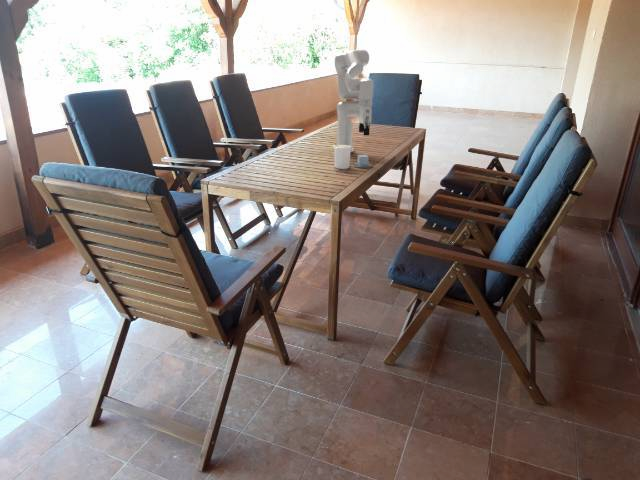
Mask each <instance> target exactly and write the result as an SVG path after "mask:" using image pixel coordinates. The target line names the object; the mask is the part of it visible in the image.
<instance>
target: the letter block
mask: <svg viewBox="0 0 640 480" xmlns="http://www.w3.org/2000/svg"><path fill="white" fill-rule="evenodd" d="M356 163H357V164H358V165H360V166H363V165H368V163H369V156H368V155H367V154H357V161H356Z"/></svg>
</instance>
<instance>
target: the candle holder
mask: <svg viewBox="0 0 640 480" xmlns="http://www.w3.org/2000/svg"><path fill="white" fill-rule="evenodd" d="M333 153H334V154H333V155H334V156H333V158H334V159H333V160H334V161H333V162H334V168H335V169H339V170H346V169H349V167H350V164H351V162H350V161H351V153H352V152H351V146H349V145H337V144H335V145H334V146H333Z"/></svg>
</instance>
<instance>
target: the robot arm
mask: <svg viewBox="0 0 640 480" xmlns="http://www.w3.org/2000/svg"><path fill="white" fill-rule="evenodd" d="M369 61H370V54H369V52H368V51H367V50H365V49H349V50H347V51H345V53H343V52H342V53H338V54H336V55H335V57H334V67H335V72H336V74H337V84H338V85H337V86H338V87H337V88H338V96H339V98H340V99H342V100H343V101H339V102H338V103H337V105H336V113H337V141H336V142H337V144H336V145H349V146H351V153H354V151H355V149H354V148H353V127H354V126H353V122H352V120H351V118H352V117H358V121H359V123H358V132H359V133H363V136H370V130H371V124H372V122H373V121H372V116H373V115H372V111H373V110H372V107H373V96H374V95H373V93H374V80H372V79H371V78H369V77H358V76H360V75H361V74H362V73H363V72H364V67H366V66H367V65H368V64H369ZM344 100H346V101H344ZM354 100H355V101H354ZM350 117H351V118H350Z"/></svg>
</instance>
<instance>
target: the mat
mask: <svg viewBox="0 0 640 480" xmlns="http://www.w3.org/2000/svg"><path fill="white" fill-rule="evenodd" d="M352 165H354V167H356V168H358V169H359V168H360V169H361V168H363V169H365V168H373V167H374V166H373V165H372V164H371V163H370V162H368V165H363V166H360V165H358V164H357V162H353V163H352Z"/></svg>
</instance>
